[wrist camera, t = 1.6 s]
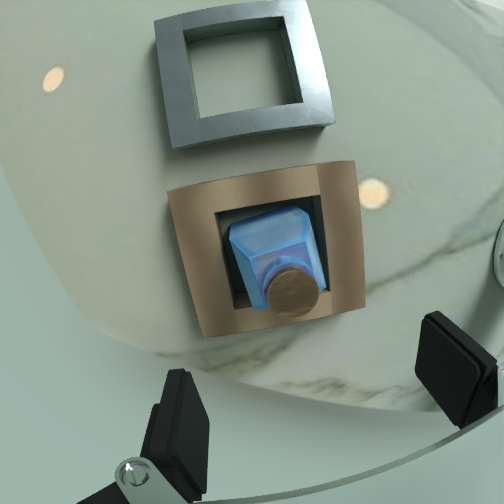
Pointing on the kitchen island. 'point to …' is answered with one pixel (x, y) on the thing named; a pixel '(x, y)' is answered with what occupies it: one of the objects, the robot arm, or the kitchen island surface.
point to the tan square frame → (259, 192)
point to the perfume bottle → (279, 261)
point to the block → (254, 120)
